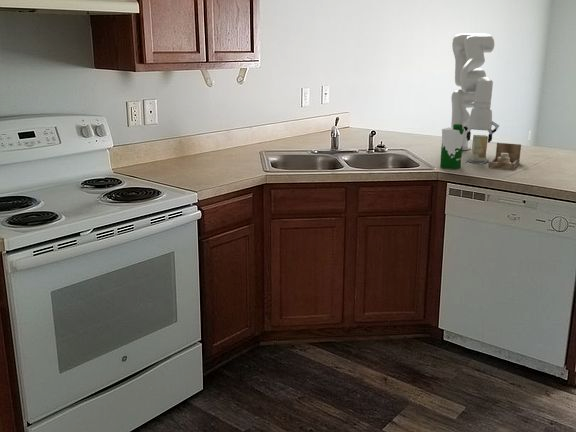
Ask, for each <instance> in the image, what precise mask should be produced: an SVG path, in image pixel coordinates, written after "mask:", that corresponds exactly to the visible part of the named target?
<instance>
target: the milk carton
mask: <svg viewBox="0 0 576 432" xmlns="http://www.w3.org/2000/svg"><path fill="white" fill-rule="evenodd" d="M462 126H463V125H461V124H454V125H453V128H451V127H445V128H442V129H441V147H440V149H441V150H440V163H439V166H440V167H439V168H441V169H450V170H457V169H459V168H460V169H461V168H462V167H461V166H462V156H463V150H462V146H463V136H464V131H465V129H462Z"/></svg>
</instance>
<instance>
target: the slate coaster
mask: <svg viewBox="0 0 576 432" xmlns="http://www.w3.org/2000/svg"><path fill="white" fill-rule="evenodd" d="M465 161H466V162H465V163H467V162H469V163H470V164H479V163H482V164H481V165H486V164H487V163H489V162H490V160H489V159H486V158H485V161H472V160H471V157H470V158H468V159H467V160H465Z"/></svg>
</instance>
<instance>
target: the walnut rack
mask: <svg viewBox="0 0 576 432" xmlns="http://www.w3.org/2000/svg"><path fill="white" fill-rule="evenodd" d="M521 150H522V144H521V143H505V142H496V149H495V156H494V157H493V158H492V159H491V160H489V161H488V164H489V165H488V168H489V167H492V169H500V168H503V169H502V170H511V169H512V170H515V169H516V168H517V166H518V165H519V164H520V159H521V158H520V157H521V152H522V151H521ZM501 153H508V154H509V157H510V162H511V164H509V163H497V160H498V157H501ZM515 167H516V168H515Z"/></svg>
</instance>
